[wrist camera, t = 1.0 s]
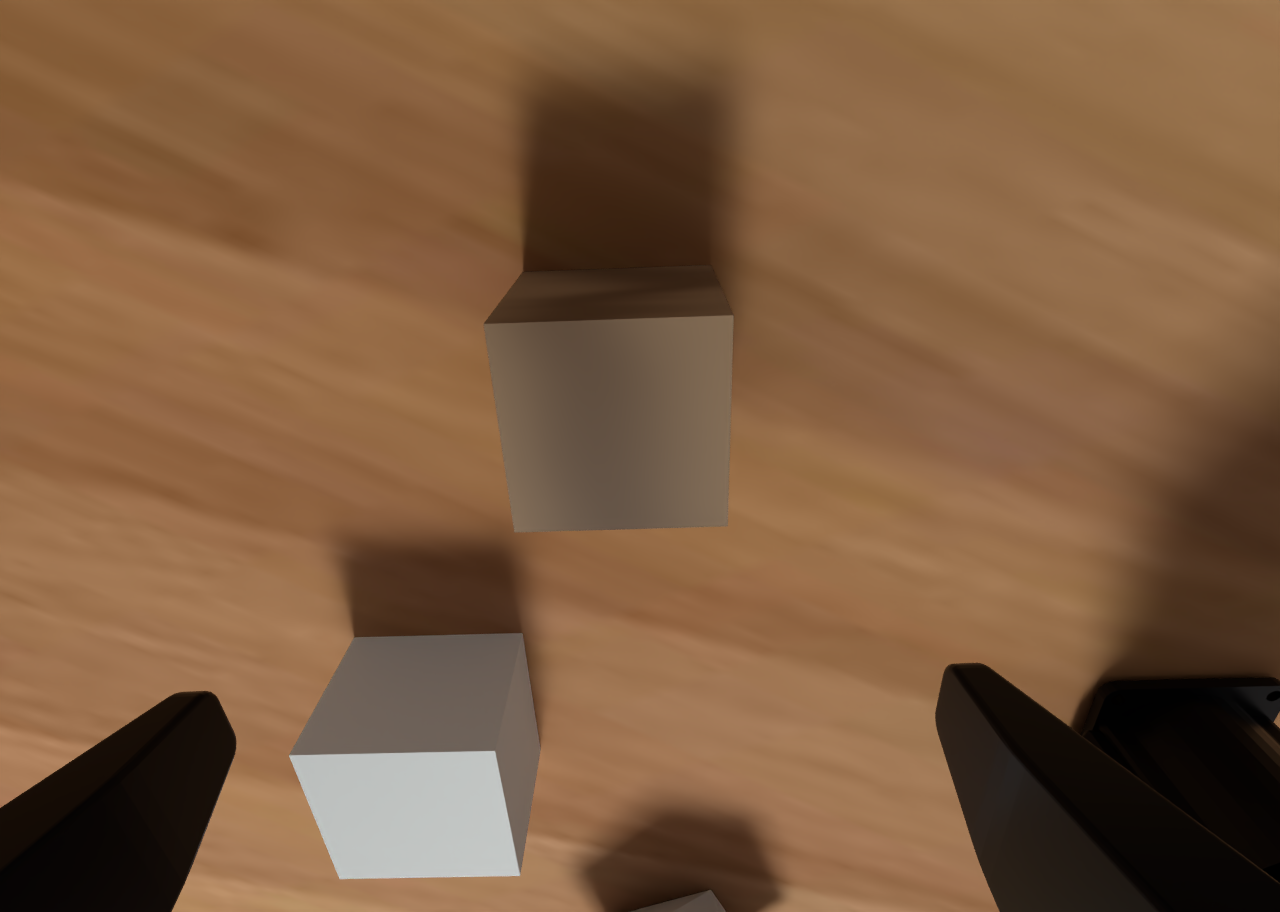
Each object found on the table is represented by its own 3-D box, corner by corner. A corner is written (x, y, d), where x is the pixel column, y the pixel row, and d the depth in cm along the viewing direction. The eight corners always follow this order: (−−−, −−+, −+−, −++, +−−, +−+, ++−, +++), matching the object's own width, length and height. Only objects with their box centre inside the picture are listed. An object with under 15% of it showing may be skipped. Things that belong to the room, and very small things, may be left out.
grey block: (523, 630, 24) (495, 750, 19) (541, 747, 26) (520, 875, 22) (355, 634, 24) (289, 755, 19) (390, 750, 26) (339, 879, 22)
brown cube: (710, 264, 18) (734, 315, 13) (708, 434, 20) (727, 526, 15) (523, 271, 18) (483, 323, 13) (542, 439, 20) (514, 532, 16)
